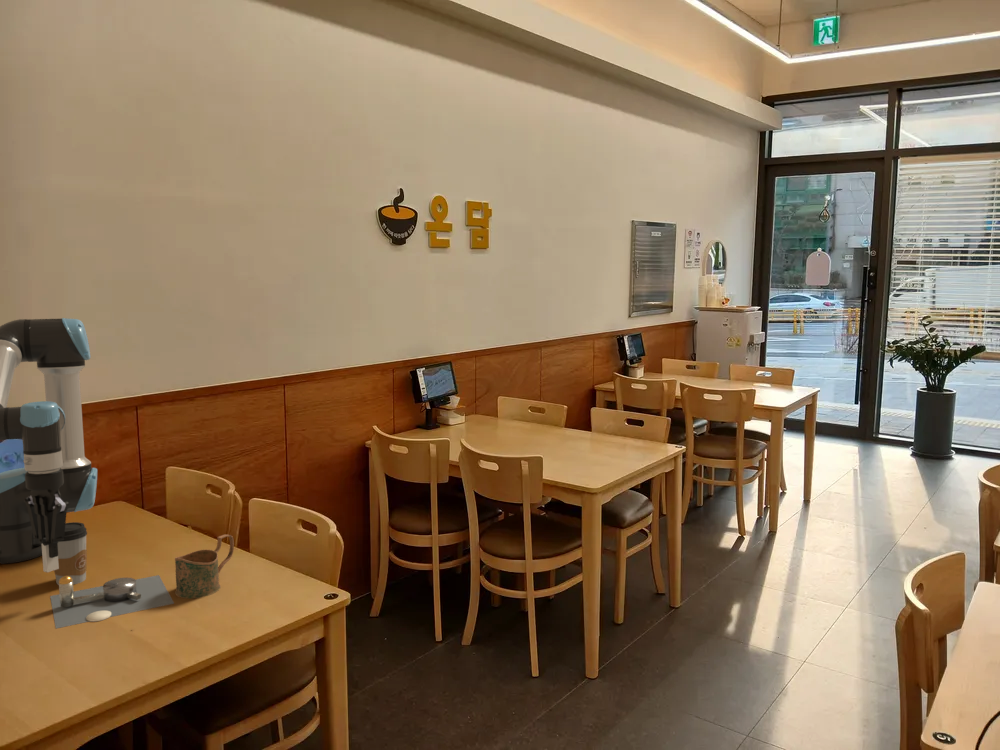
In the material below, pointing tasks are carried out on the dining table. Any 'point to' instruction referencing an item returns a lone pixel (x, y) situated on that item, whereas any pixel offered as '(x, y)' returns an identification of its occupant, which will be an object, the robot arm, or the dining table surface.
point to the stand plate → (110, 603)
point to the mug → (200, 571)
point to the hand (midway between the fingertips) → (51, 569)
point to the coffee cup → (72, 553)
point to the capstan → (111, 592)
